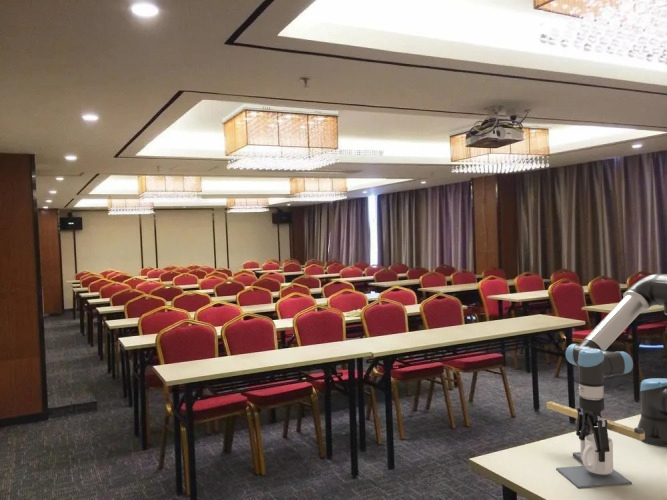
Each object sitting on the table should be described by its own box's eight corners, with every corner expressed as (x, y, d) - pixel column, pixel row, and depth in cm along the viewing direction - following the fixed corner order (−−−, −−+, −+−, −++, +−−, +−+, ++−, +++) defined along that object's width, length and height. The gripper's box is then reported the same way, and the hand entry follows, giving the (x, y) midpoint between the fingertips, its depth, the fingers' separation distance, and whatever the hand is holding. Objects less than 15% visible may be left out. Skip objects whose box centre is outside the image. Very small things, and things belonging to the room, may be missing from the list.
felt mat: (606, 465, 190) (606, 464, 190) (631, 484, 176) (631, 482, 176) (556, 469, 188) (556, 467, 188) (578, 488, 174) (578, 486, 174)
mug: (594, 480, 175) (593, 448, 175) (572, 470, 182) (571, 439, 182) (618, 471, 180) (618, 440, 180) (596, 462, 188) (595, 432, 188)
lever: (647, 439, 177) (647, 429, 177) (638, 442, 175) (638, 431, 175) (553, 406, 211) (553, 398, 211) (544, 408, 209) (544, 400, 209)
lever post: (594, 455, 199) (593, 418, 199) (607, 464, 191) (606, 425, 191) (573, 456, 198) (572, 419, 198) (585, 466, 190) (584, 427, 190)
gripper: (564, 388, 191) (565, 453, 192) (598, 407, 171) (600, 479, 171) (584, 387, 192) (585, 451, 193) (621, 405, 171) (622, 478, 172)
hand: (592, 464), depth 182 cm, fingers closed on mug, 8 cm apart
